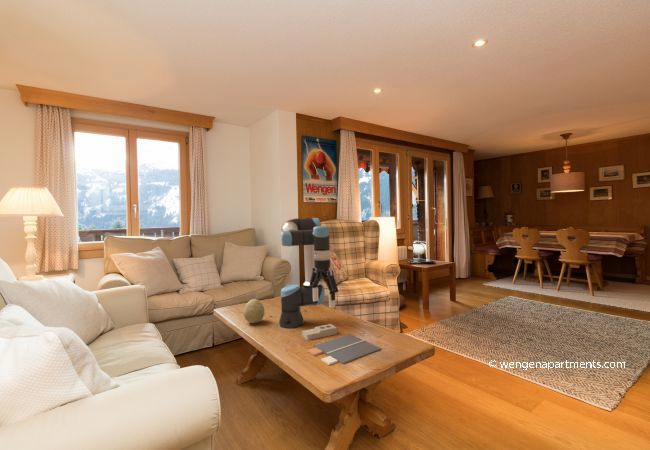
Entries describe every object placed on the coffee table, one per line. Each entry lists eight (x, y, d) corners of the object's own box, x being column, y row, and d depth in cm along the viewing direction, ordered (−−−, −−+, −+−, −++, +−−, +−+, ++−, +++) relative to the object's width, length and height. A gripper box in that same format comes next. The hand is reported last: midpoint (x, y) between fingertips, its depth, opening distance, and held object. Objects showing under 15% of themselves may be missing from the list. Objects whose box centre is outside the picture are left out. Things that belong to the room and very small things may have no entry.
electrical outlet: (302, 329, 177) (331, 323, 184) (302, 336, 177) (331, 330, 184) (307, 333, 170) (337, 327, 178) (307, 341, 170) (337, 334, 178)
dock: (304, 349, 158) (304, 347, 158) (349, 335, 175) (349, 333, 175) (332, 367, 139) (332, 365, 139) (381, 349, 156) (381, 347, 156)
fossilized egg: (260, 318, 209) (259, 295, 209) (268, 323, 199) (267, 299, 198) (241, 322, 202) (240, 299, 202) (248, 327, 192) (247, 303, 191)
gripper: (301, 257, 158) (303, 299, 158) (331, 262, 137) (333, 311, 138) (314, 255, 162) (315, 297, 163) (345, 260, 142) (346, 308, 142)
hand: (323, 304), depth 150 cm, fingers open, 13 cm apart
